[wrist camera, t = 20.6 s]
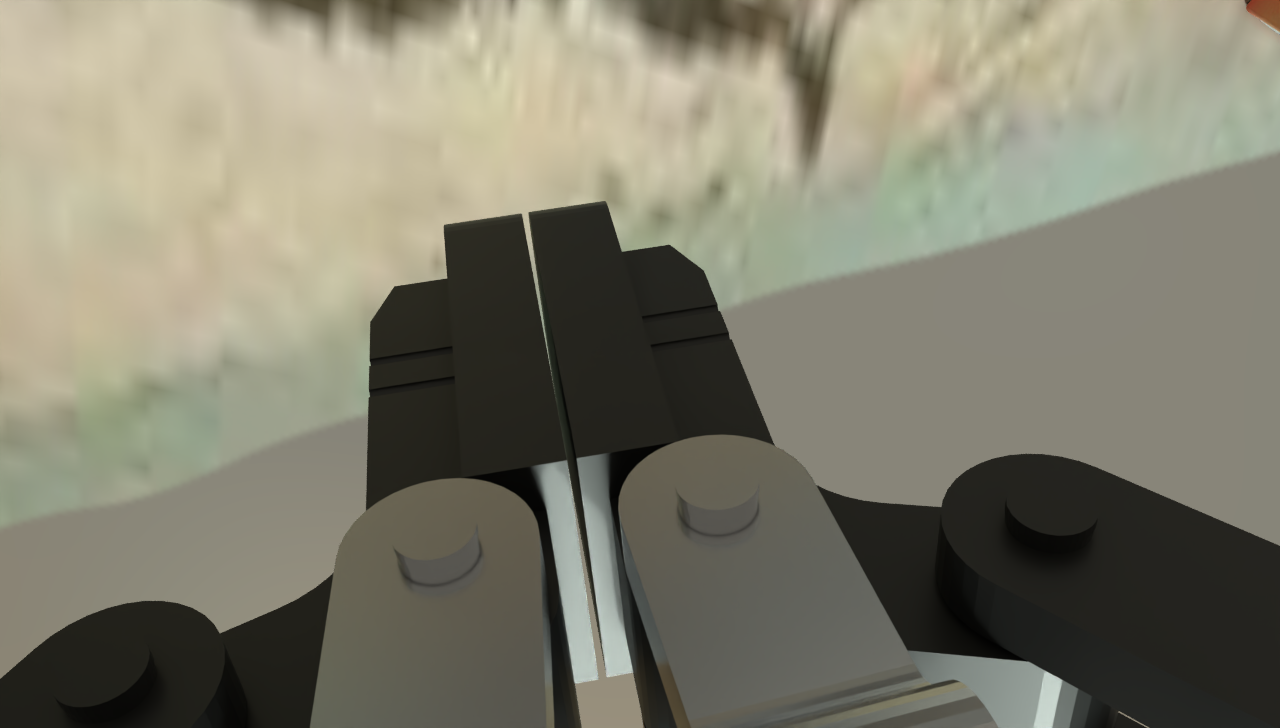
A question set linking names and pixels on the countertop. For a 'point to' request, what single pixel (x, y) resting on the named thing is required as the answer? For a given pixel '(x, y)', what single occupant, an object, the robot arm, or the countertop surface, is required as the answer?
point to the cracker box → (1266, 12)
